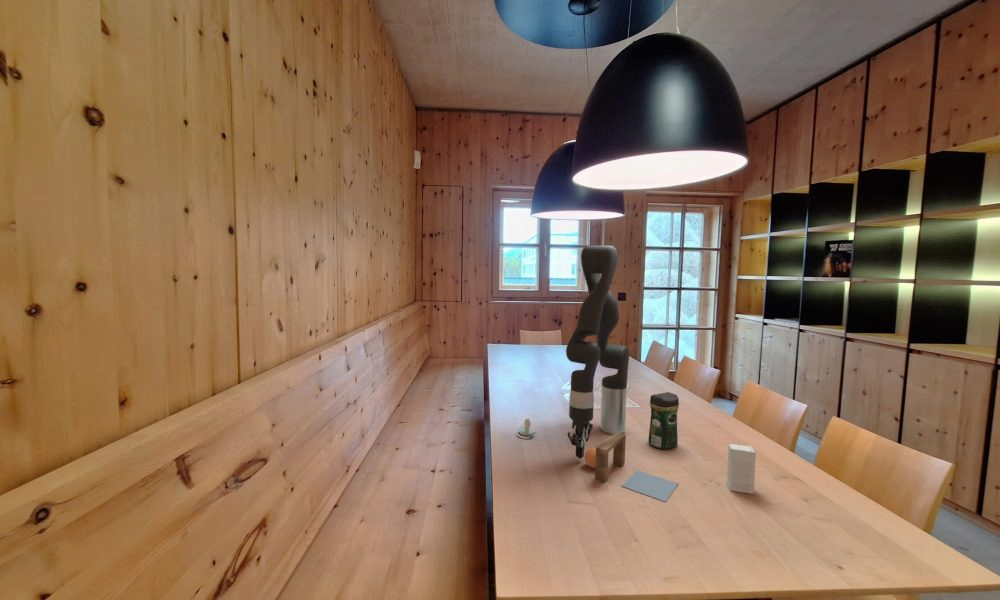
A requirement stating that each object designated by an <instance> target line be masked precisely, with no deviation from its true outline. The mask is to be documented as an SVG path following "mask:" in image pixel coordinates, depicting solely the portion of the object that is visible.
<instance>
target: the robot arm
mask: <svg viewBox="0 0 1000 600" xmlns="http://www.w3.org/2000/svg"><path fill="white" fill-rule="evenodd" d="M580 261H581V267H582V273H583V275H584V279H585V283H586V286H587V289H588V290H587V291H588V295H587V296H586V297H585V299H584V300H583V301H582V304H581V306H580V308H579V313H578V317H577V323H576V327H575V329H574V331H573V333H572V335H571V337H570V339H569V340H568V343H567V345H566V350H565V354H566V358H567V360H568V361H569V362H572V363H575V364H576V363H578V364H581V365H582V364H583V365H584V368H583V369H577V370H573V371H572V373H570V374H571V375H570V377H571V378H570V392H569V403H568V405H569V407H568V408H569V409H568V417H569V418H570V419H571V420H572V423H571V429H572V430H571V432H570V431H568V432H567V437H568V439H569V441H570V443H571V445H572V446H573V447H575V457H577V458H579V459H582V458H583V457H585V446H586V443H588V442H589V439H590V436H591V433H592V430H593V427H594V424H592V423H590V422H591V421H593V420H594V402H595V400H594V399H595V396H594V382H595V381H594V380H595V374H596V371H597V368H598V364H599V365H600V366H601V367H603V368H606V369H610V370H611V369H612V370H617V372H616V373H615V374H611V375H606V376H604V377H602V379H601V398H600V399H601V402H600V427H599V429H600V430H601V431H602V432H603V433H606V434H610V435H613V434H615V433H616V432H618V433H622V434H625V432H626V418H627V417H626V415H627V414H626V413H627V394H628V393H627V390H628V388H627V387H628V377H629V376H628V374H629V365H630V364H629V361H630V350H629V348H628V347H627V345H623V344H621V345H620V344H611V343H609V342H608V341H609V340H608V339H609V337H610V335H611V333H612V332H613V331H614V329H615V328H616V327H617V325H618V323H619V322H620V321H619V320H620V311H619V305H618V300H617V299H616V297H615V296H614V295H613V293H612V292H611V291H610V287H611V284H612V282H613V279H614V276H615V272H616V269H617V267H618V266H617V264H618V251H617V249H616V247H614V246H613V245H587V246H584V247H583V248H582V250H581V253H580ZM600 274H601V275H600ZM591 336H592V337H593V336H596V343H595V342H592V341H585V339H586V338H587V337H591Z"/></svg>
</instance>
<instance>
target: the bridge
mask: <svg viewBox="0 0 1000 600" xmlns="http://www.w3.org/2000/svg"><path fill="white" fill-rule="evenodd" d="M626 436H627V434H625V433H618V432H616V433H615V434H611V436H610V437H608V438H607V439H605V440H603V442H601V443H599V444H598V445H596V446H595V448H596V459H595V468H594V481H597V482H601V483H603V484H605V483H606V482H607V481H608V476H609V475H608V472H609V452H610V451H613V453H612V454H613V455H612V464H613V465H616V466H618V465H619V467H624V466H625V465H626V463H625V461H626V438H627V437H626ZM624 464H625V465H624Z"/></svg>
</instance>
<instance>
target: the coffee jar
mask: <svg viewBox="0 0 1000 600" xmlns="http://www.w3.org/2000/svg"><path fill="white" fill-rule="evenodd" d="M649 400H650V401H649V406H650V424H649V433H648V443H649V444H650V445H651V446H653V448H656V449H660V450H661V449H662V450H668V449H672V448H675V447H676V446H678V441H679V440H678V410H679V408H680V407H679V406H680V403H679V402H680V401H679V400H680V399H679V396H678V395H677V394H676V393H673V392H668V391H666V392H662V393H657V394H656V393H655V394H651V395H650V399H649Z"/></svg>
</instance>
